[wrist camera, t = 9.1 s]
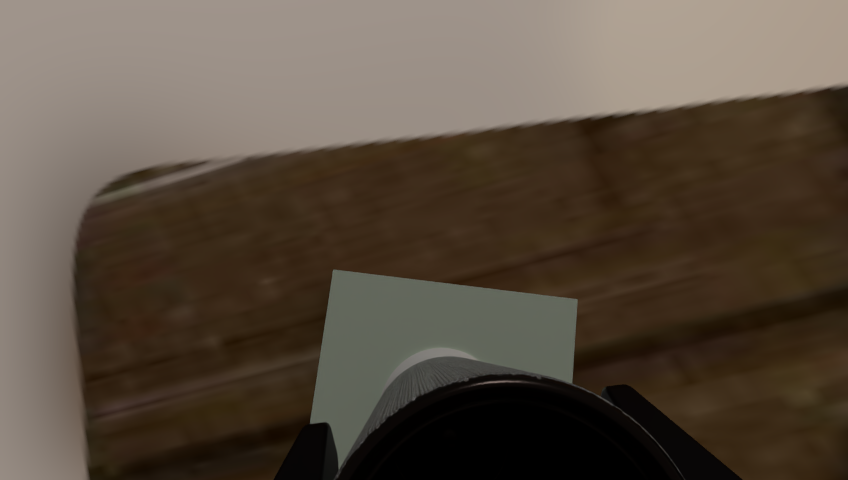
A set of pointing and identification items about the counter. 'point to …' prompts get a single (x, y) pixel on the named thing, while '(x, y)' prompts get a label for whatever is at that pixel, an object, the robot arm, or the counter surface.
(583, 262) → the counter surface
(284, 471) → the robot arm
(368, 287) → the pad
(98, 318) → the counter surface
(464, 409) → the grey cylinder
